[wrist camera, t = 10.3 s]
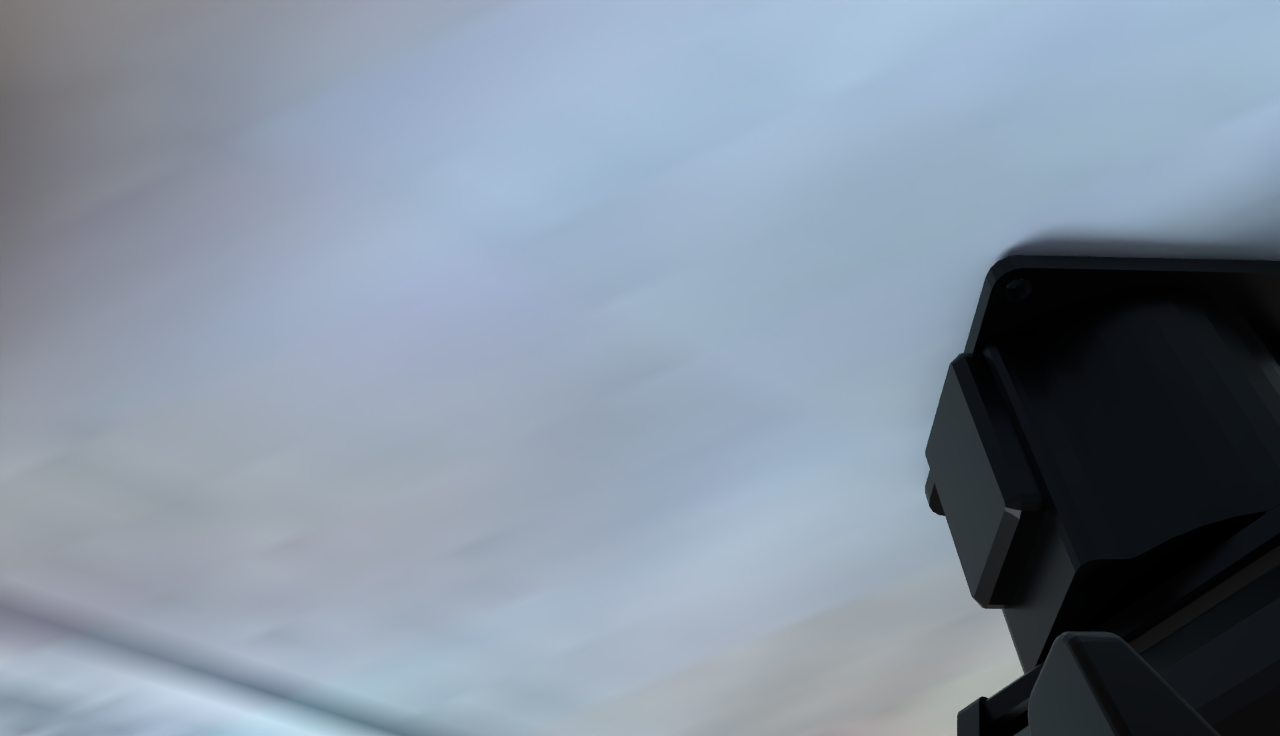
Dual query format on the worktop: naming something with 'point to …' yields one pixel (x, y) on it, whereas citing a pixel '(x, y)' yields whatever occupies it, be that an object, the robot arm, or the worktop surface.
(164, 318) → the worktop surface
